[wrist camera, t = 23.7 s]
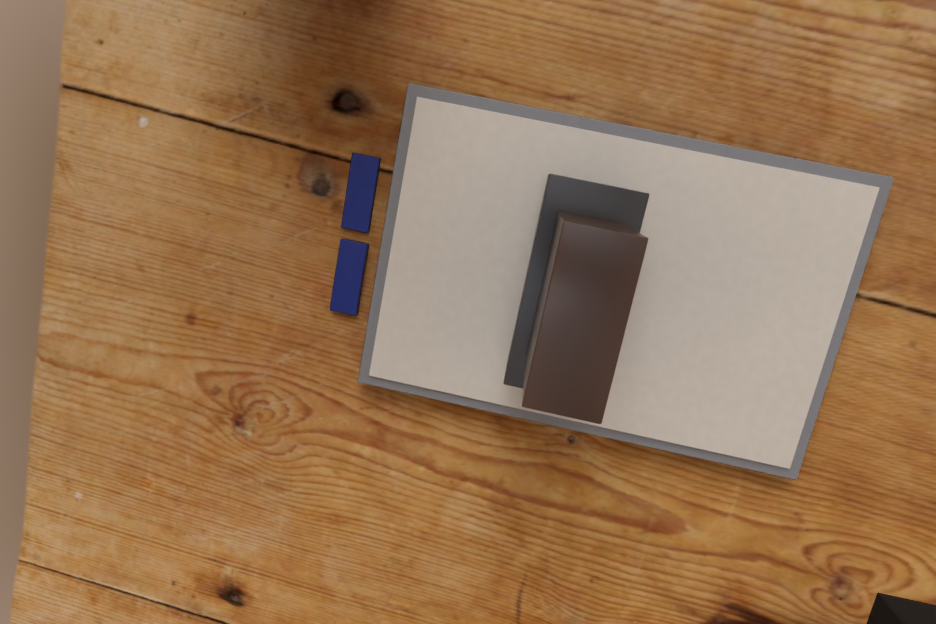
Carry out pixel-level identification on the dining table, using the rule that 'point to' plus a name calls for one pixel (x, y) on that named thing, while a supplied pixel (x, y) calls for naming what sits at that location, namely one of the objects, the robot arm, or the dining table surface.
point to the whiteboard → (659, 285)
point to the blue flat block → (360, 192)
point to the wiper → (577, 297)
